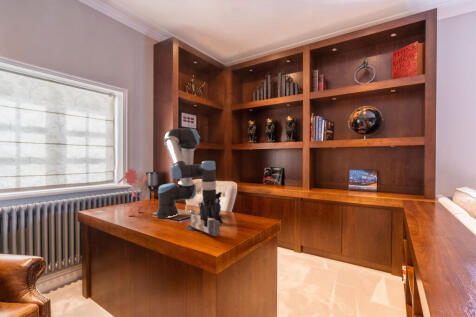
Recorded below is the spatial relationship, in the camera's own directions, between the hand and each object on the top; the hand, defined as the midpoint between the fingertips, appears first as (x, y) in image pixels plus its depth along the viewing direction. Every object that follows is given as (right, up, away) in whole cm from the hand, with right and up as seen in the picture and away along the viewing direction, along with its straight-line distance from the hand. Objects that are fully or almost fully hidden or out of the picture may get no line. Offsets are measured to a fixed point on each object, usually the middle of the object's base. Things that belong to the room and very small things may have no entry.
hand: (210, 231), depth 128 cm
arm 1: (-4, -1, +3) cm, 5 cm away
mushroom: (-4, -2, +40) cm, 41 cm away
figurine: (-66, -2, +50) cm, 83 cm away
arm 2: (-3, -1, +4) cm, 5 cm away
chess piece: (0, -2, +23) cm, 23 cm away
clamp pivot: (-12, -2, +13) cm, 18 cm away
